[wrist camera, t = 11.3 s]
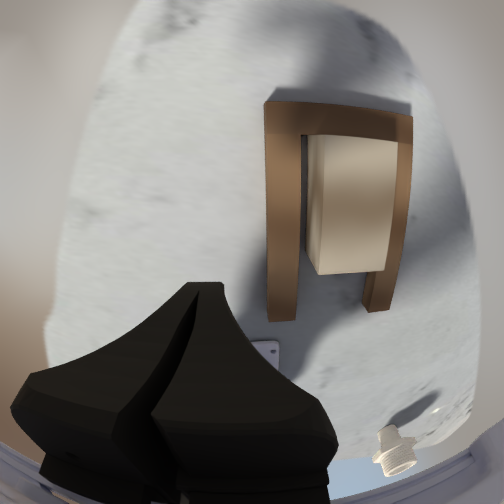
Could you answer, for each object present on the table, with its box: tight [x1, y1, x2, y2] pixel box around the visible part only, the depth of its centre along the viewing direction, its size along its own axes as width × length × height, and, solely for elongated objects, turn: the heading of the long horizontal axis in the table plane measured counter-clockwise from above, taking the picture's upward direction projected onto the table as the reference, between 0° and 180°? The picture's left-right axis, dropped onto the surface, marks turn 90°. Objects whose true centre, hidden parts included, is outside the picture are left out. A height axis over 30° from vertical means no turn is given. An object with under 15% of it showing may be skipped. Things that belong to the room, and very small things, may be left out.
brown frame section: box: [264, 101, 413, 322], centre depth 18 cm, size 15×10×2 cm, turn 2°
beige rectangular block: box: [305, 135, 398, 275], centre depth 16 cm, size 8×4×4 cm, turn 1°
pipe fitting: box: [372, 425, 417, 477], centre depth 28 cm, size 6×7×8 cm
